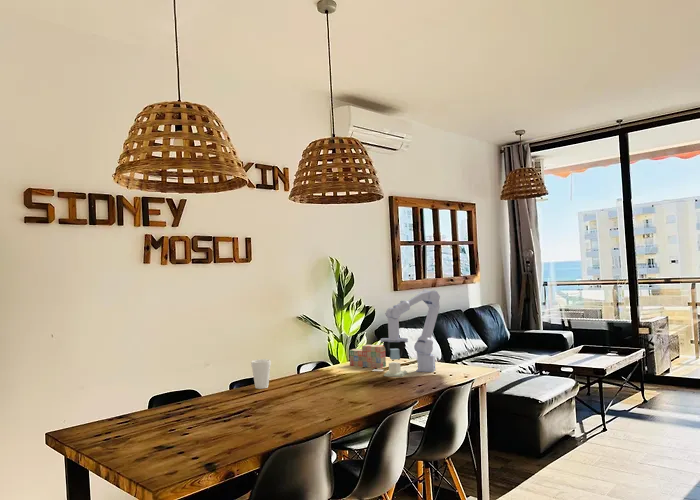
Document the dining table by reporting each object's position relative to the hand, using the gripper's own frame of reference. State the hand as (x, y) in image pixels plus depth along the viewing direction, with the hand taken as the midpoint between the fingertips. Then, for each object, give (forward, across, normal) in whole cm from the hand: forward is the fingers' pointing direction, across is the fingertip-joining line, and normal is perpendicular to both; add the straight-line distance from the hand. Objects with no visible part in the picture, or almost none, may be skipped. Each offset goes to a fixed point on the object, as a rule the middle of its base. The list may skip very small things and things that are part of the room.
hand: (394, 355), depth 282 cm
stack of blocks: (+10, -22, +23) cm, 34 cm away
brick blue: (+2, 0, 0) cm, 2 cm away
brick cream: (+9, 0, 0) cm, 9 cm away
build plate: (+10, 0, 0) cm, 10 cm away
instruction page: (+10, -12, +10) cm, 19 cm away
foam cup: (+10, -58, -40) cm, 71 cm away
